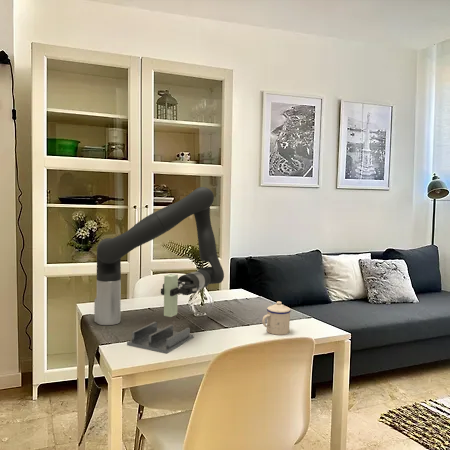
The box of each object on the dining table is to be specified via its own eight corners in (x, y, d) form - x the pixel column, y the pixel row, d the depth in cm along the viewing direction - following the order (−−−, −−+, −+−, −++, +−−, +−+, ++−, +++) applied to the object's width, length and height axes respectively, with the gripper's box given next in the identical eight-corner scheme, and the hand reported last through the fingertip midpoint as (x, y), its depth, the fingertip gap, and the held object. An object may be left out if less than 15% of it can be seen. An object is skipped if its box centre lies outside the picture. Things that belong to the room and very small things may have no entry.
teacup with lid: (279, 326, 179) (280, 297, 178) (294, 333, 171) (296, 303, 170) (255, 330, 172) (256, 301, 171) (269, 338, 165) (270, 307, 164)
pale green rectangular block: (163, 315, 155) (164, 275, 153) (170, 312, 158) (170, 273, 157) (171, 317, 153) (171, 276, 152) (177, 314, 157) (177, 274, 156)
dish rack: (127, 344, 153) (127, 333, 153) (156, 330, 170) (156, 320, 169) (166, 353, 147) (167, 341, 146) (193, 337, 163) (193, 326, 162)
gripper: (175, 271, 171) (149, 279, 155) (208, 275, 165) (184, 284, 149) (175, 290, 171) (149, 300, 156) (207, 295, 165) (184, 306, 150)
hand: (166, 292), depth 152 cm, fingers closed on pale green rectangular block, 3 cm apart
